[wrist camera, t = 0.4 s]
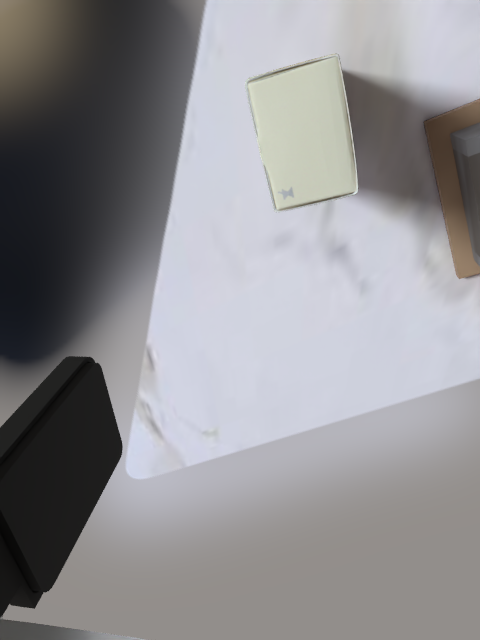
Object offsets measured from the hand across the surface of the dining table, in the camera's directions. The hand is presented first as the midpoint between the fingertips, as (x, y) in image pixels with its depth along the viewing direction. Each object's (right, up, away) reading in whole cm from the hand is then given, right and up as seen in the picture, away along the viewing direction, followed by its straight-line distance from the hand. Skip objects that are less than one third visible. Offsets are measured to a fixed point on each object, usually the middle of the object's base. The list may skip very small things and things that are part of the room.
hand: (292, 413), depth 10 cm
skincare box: (+4, +16, +20) cm, 26 cm away
